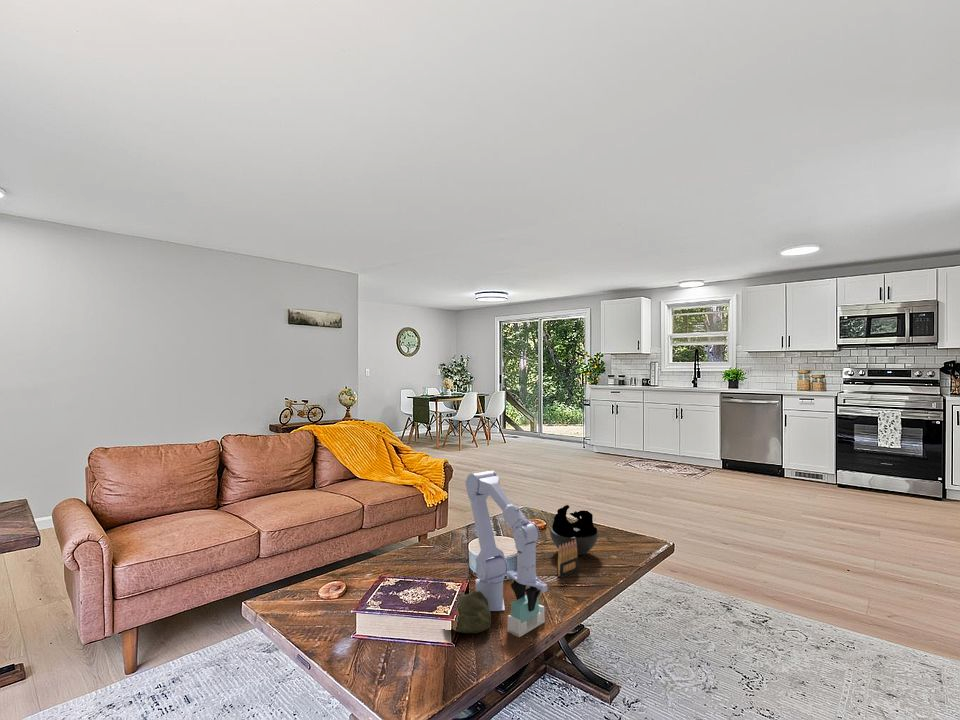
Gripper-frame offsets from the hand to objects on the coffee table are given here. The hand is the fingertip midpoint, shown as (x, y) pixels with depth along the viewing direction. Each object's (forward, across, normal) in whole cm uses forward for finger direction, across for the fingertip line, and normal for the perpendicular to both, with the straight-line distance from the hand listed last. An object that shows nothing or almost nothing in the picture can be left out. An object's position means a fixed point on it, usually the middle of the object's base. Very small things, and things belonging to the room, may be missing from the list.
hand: (526, 608), depth 159 cm
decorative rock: (+6, +13, +12) cm, 19 cm away
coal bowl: (+6, +23, -60) cm, 64 cm away
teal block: (+2, 0, +1) cm, 2 cm away
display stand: (+6, 0, 0) cm, 6 cm away
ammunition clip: (+6, +14, -42) cm, 45 cm away
